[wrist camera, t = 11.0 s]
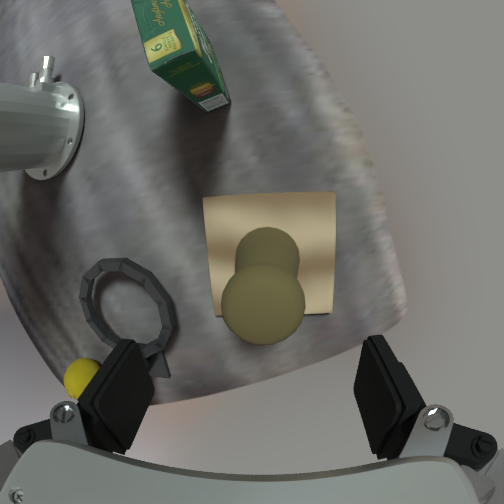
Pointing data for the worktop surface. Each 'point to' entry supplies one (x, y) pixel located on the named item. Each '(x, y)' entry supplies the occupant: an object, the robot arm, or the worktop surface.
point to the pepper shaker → (264, 288)
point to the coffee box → (181, 51)
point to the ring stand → (154, 349)
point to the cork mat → (286, 219)
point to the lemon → (79, 376)
